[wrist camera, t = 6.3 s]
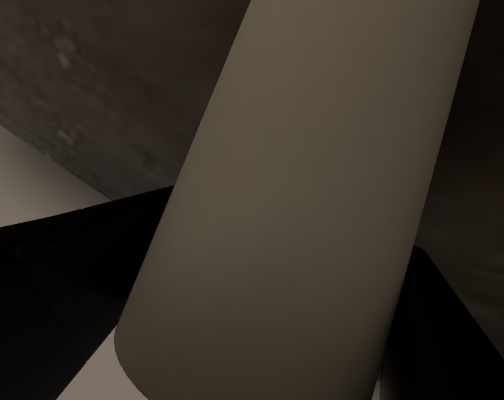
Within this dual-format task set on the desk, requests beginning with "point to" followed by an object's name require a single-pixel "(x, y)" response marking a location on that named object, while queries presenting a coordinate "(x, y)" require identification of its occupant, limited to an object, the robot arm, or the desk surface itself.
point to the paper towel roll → (297, 204)
